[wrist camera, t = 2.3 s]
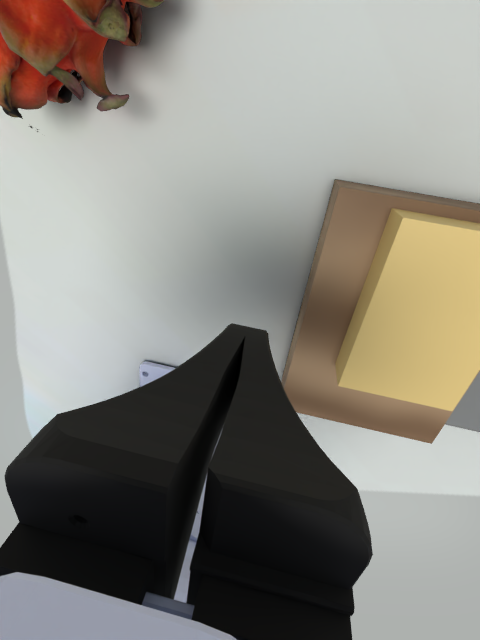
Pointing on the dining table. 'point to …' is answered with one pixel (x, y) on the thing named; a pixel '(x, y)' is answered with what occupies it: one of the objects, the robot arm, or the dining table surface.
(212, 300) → the dining table surface
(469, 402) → the mat
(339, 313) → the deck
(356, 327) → the yellow rectangular block
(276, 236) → the dining table surface
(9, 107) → the dragon fruit
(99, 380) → the dining table surface
